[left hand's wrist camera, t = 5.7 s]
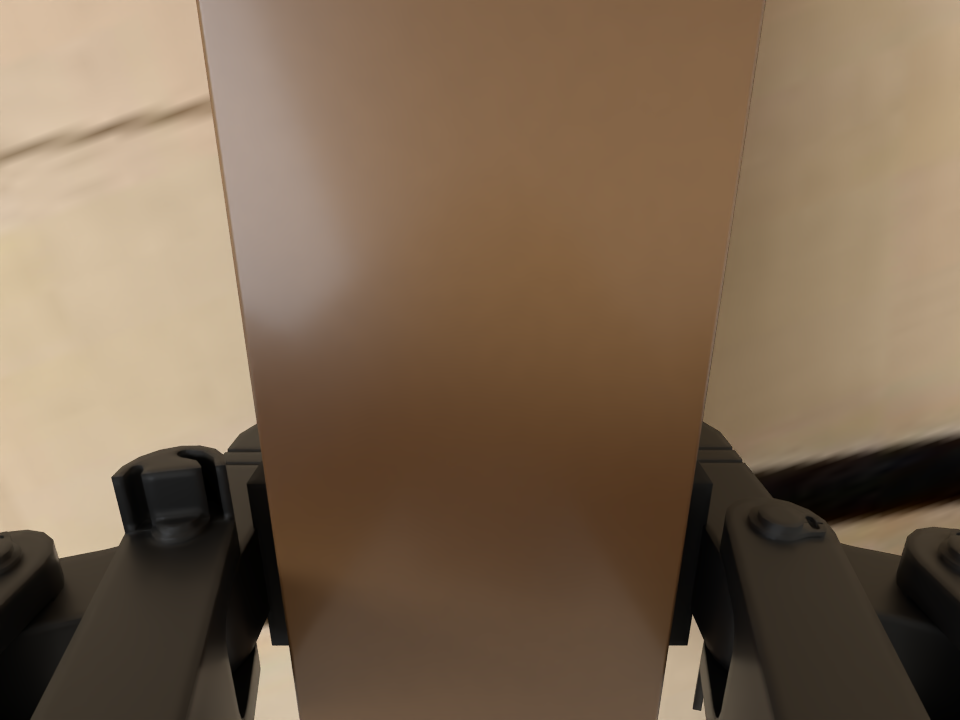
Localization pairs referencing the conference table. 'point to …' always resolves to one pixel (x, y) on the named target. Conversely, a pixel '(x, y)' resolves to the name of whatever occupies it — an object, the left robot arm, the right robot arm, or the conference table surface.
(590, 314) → the bar
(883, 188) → the conference table surface
